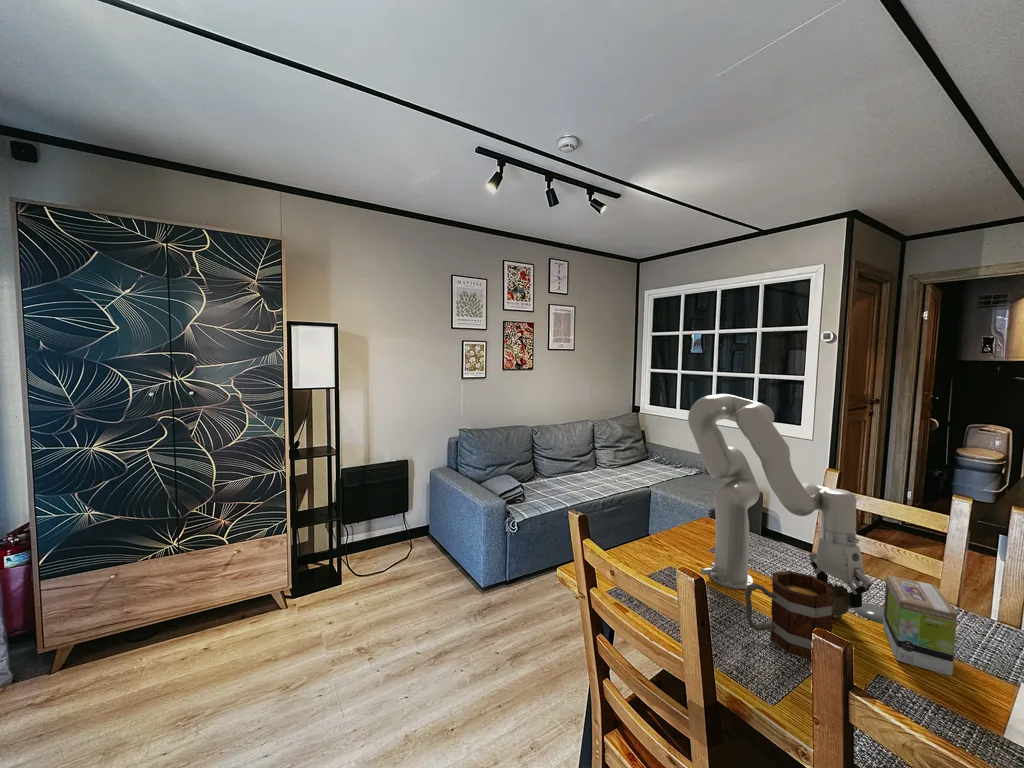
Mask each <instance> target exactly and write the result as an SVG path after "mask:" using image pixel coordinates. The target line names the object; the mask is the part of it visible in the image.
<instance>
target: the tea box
mask: <svg viewBox="0 0 1024 768" xmlns="http://www.w3.org/2000/svg"><path fill="white" fill-rule="evenodd" d="M885 579H886V580H885V591H884V603H883V604H884V606H883V607H884V618H883V625H882V627H883V630H884V633H885V635H886V637H887V639H888V640H887V641H888V643H889V646H890V648H891V650H892V653H893V656H894V658H895V660H896V661H898V662H902V663H904V664H908V665H911V666H915V667H918V668H921V669H925V670H929V671H931V672H932V671H933V672H936V673H939V674H943V675H947V676H951V677H952V676H953V673H954V672H953V671H954V660H955V659H954V658H955V649H956V648H955V645H956V644H955V643H956V635H957V625H958V624H957V622H958V613H957V612H956V611H955V608H953V606H952V605H951V604H950V602H949V601H948V600H947V598H946V597H945V595H944V594H943V593H942V591H941V590H940V589H939V588H938V586H937V585H936V584H931V583H926V582H923V581H917V580H911V579H908V578H903V577H900V576H899V577H897V576H893V575H889V574H887V575H886V578H885Z"/></svg>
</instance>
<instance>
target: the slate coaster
mask: <svg viewBox="0 0 1024 768" xmlns="http://www.w3.org/2000/svg"><path fill="white" fill-rule="evenodd" d="M852 609H853V610H854V612H856V613H857V614H858V615H860V616H861V617H862V618H865V619H867V620H869V621H872V622H874V621H875V623H878V624H883V618H884V606H880V605H877V604H874V603H869V602H862V606H861V607H858V608H852Z"/></svg>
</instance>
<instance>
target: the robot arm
mask: <svg viewBox="0 0 1024 768" xmlns="http://www.w3.org/2000/svg"><path fill="white" fill-rule="evenodd" d="M687 416H688V419H687V421H688V422H687V423H688V426H689V429H690V431H691V433H692V436H693V438H694V441H695V443H696V446H697V448H698V451H699V454H700V456H701V459H702V461H703V464H704V467H705V469H706V472H707V473H708V475H709V476H711V477H712V478H713V479H716V480H724V483H723V484H721V485H720V486H719V487H717V489H716V490H715V492H714V495H713V505H714V513H715V534H714V535H715V536H714V537H715V540H714V547H715V548H714V562H711V566H709V567H702V568H701V569H700V572H701V574H702V575H703V576H705V575H708V576H709V575H710V576H709V578H710V577H711V578H712V579H713V580H712V579H711V578H710V579H711V580H712V581H714V582H715V583H716V584H718V585H720V586H723V587H726V588H730V589H734V590H747V587H748V585H751V584H754V579H753V577H752V576H751V575H750V574H749V551H750V550H749V548H750V547H749V544H750V522H749V517H748V516H749V515H748V509H749V508H751V507H752V506H754V505H755V504H756V503H757V502H758V500H759V497H760V489H759V485H758V483H757V481H756V479H755V476H754V474H753V471H752V469H751V467H750V464H749V462H748V460H747V458H746V456H745V454H744V453H743V452H742V451H741V450H740V449H739V448H737V447H735V446H732V445H731V446H729V445H727V442H726V440H725V438H724V435H723V433H722V432H721V430H720V429H719V426H718V425H717V422H718V421H722V420H728V421H731V422H734V423H735V424H736V425H737V427H738V429H739V430H740V431H741V433H742V435H743V436H744V437H745V439H746V440H747V442H748V443H749V444H750V446H751V447H752V450H754V452H755V454H756V455H757V457H758V458H759V461H760V462H761V467H762V470H763V471H764V475H765V478H766V480H767V482H768V484H769V487H770V488H771V490H772V491H773V493H774V494H775V496H776V498H777V499H778V501H779V502H780V504H781V505H782V506H783V507H784V508H785V509H786V510H787V511H788V512H789V513H791V514H792V515H794V516H797V517H808V516H809V515H812V514H813V513H814V512H815V511H820V516H821V517H820V523H821V524H820V527H821V529H820V532H821V535H819V537H818V542H817V547H816V548H817V549H816V552H815V553H809V554H808V557H809V561H810V562H811V563H810V565H811V567H812V568H813V572H814V574H815V575H816V576H815V578H817V579H819V580H821V581H823V582H827V583H828V584H829V581H828V579H829V576H831V577H833V578H835V579H837V580H839V581H841V582H843V583H846V584H847V585H848V587H849V589H850V592H849V593H850V607H849V608H851V609H853V608H858V607H861V606H862V603H863V594H865V593H867V592H868V591H869V590H870V588H871V587H872V586H873V582H872V581H871V580H870V579H869V577H868V576H866V575H865V574H864V564H863V555H862V551H861V549H860V545H859V543H860V539H859V538H858V537H857V498H856V495H855V494H854V493H853V492H851V491H848V490H846V489H841V488H831V487H826V486H823V485H818V484H815V483H811V482H800V480H799V478H798V476H797V475H796V473H795V471H794V469H793V467H792V462H791V452H790V451H791V450H790V446H789V445H788V443H787V442H786V441H785V439H784V438H783V436H782V435H781V434H780V432H779V431H778V429H777V428H776V427H775V425H774V424H773V423H774V421H775V413H774V411H773V410H772V408H771V407H769V406H768V405H766V404H764V403H762V402H758V401H754V400H750V399H747V398H745V397H744V398H743V397H740V396H737V395H733V394H728V393H717V394H710V395H705V396H702V397H701V398H699V399H698V400H696V401H695V402H694V403H693V404H692V406H691V407H690V409H689V411H688V415H687Z"/></svg>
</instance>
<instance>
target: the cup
mask: <svg viewBox="0 0 1024 768" xmlns="http://www.w3.org/2000/svg"><path fill="white" fill-rule="evenodd" d="M825 583H826V584H828V585H830V586H832V589H833V594H834V600H833V605H832V620H839V621H840V620H841V619H842V618H843V615H845V614H847V613H848V612H849V609H850V608H851V607H850V592H848V591H849V590H848V588H847V587H846V588H845V586H844V585H838V583H835V584H833V583H832V582H828V583H827V582H825Z"/></svg>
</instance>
